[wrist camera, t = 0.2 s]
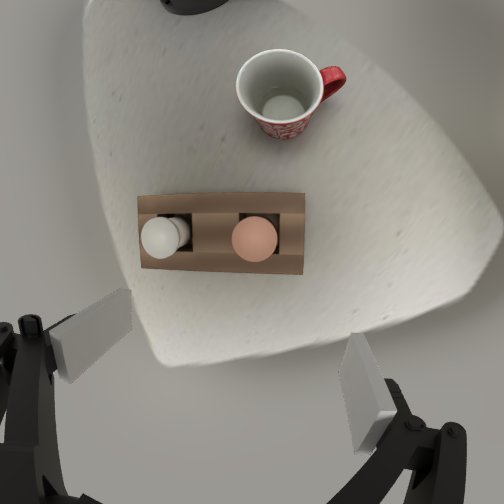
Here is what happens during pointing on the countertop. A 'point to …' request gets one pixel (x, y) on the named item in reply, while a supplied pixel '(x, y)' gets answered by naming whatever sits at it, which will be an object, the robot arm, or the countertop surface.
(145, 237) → the cream plug
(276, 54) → the mug
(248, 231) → the terracotta plug
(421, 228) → the countertop surface
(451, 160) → the countertop surface
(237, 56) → the countertop surface
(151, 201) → the walnut block
